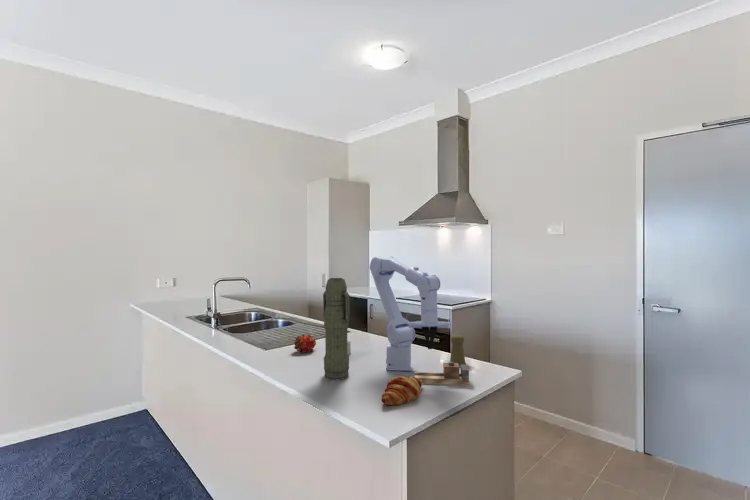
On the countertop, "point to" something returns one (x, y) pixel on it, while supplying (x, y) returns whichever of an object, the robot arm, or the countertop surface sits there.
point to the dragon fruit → (305, 343)
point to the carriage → (451, 370)
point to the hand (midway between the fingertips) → (429, 348)
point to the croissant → (401, 390)
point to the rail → (439, 377)
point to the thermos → (336, 328)
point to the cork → (457, 349)
